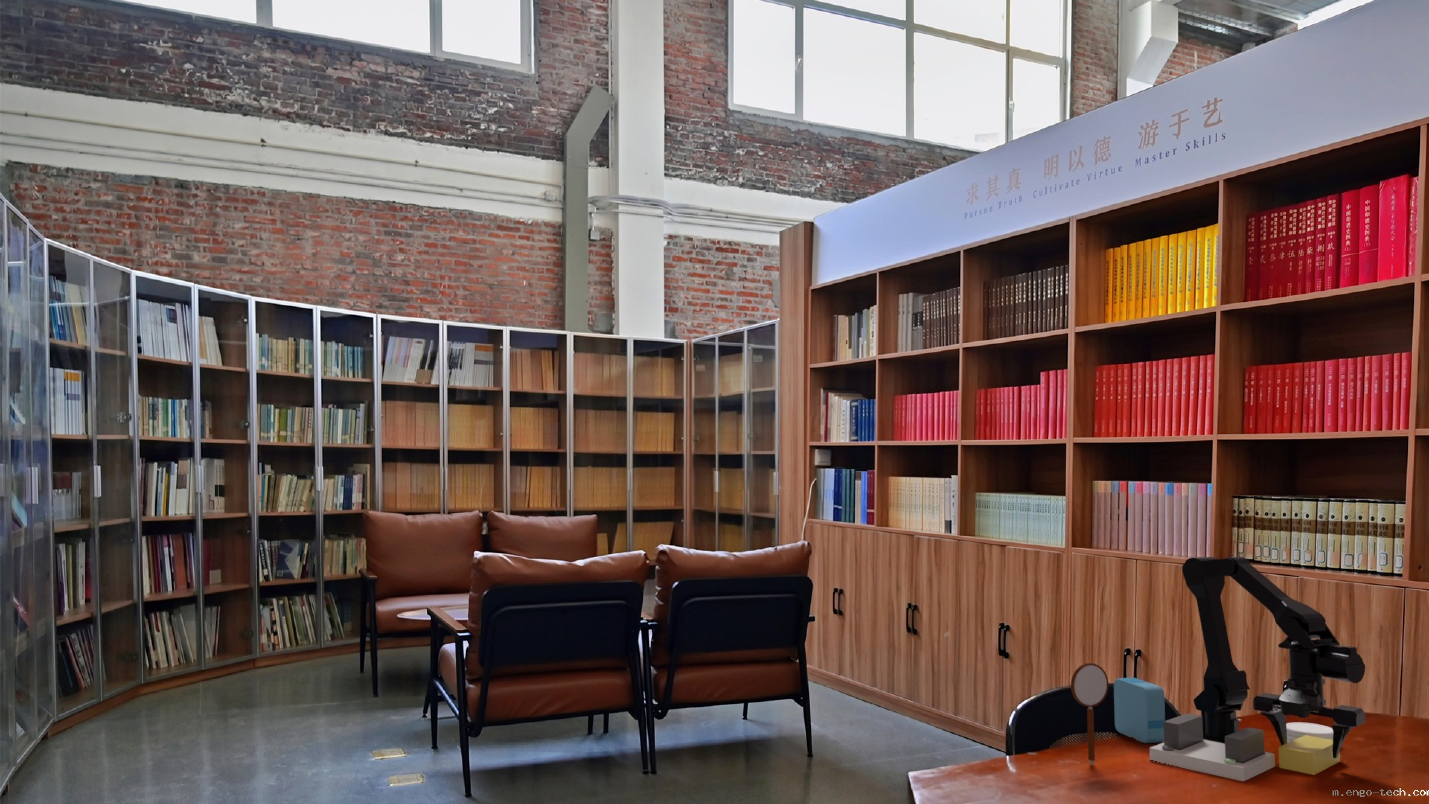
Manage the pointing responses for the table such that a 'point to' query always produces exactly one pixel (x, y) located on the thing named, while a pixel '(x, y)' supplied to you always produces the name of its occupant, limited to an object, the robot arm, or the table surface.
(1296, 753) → the pale yellow pad
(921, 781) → the table surface
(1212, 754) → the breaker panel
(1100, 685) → the magnifying glass
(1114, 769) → the table surface
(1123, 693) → the data package
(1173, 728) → the block
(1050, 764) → the table surface
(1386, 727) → the table surface
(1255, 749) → the block
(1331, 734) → the coaster
